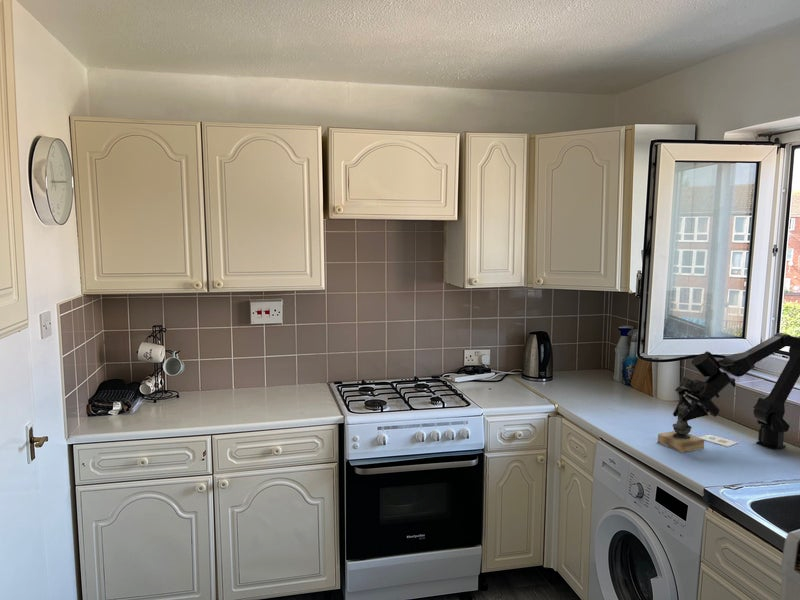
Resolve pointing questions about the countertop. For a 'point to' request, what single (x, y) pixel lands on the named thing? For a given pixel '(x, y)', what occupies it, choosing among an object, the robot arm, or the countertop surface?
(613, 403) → the countertop surface
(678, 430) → the weathered stone finial
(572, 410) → the countertop surface
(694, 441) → the base brick
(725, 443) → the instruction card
